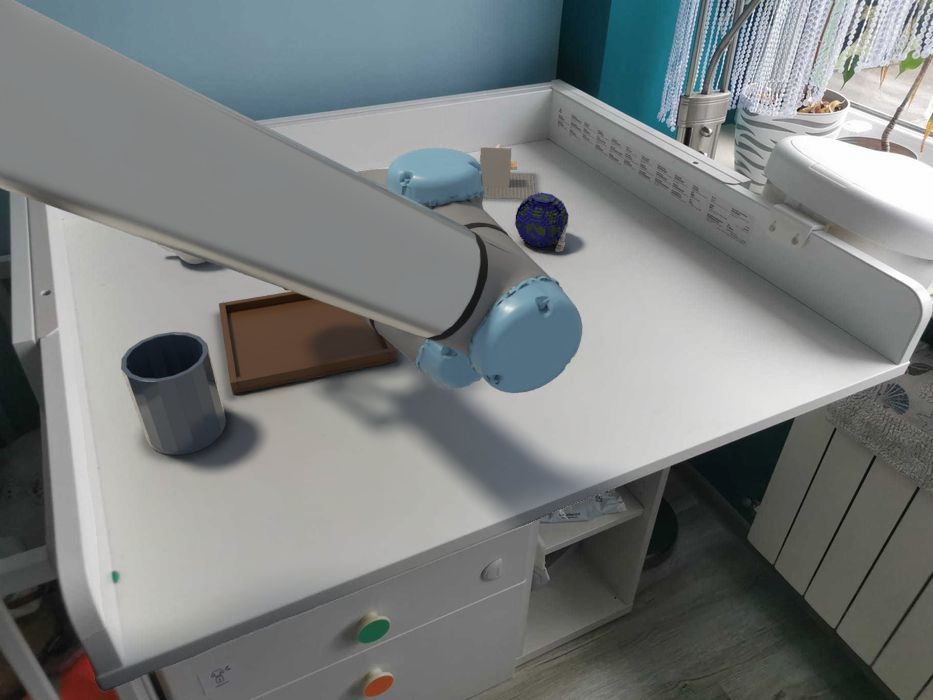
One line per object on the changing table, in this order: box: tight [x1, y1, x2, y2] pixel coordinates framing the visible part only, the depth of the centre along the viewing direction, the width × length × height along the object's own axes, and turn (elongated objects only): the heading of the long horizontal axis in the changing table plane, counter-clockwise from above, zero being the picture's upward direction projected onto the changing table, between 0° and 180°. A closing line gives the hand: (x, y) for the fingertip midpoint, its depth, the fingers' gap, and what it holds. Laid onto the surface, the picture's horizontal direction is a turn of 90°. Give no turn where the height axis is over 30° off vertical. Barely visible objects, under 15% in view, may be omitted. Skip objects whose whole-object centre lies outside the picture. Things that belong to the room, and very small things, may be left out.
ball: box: [514, 192, 570, 253], centre depth 110 cm, size 8×8×8 cm
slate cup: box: [120, 331, 227, 456], centre depth 73 cm, size 8×8×10 cm
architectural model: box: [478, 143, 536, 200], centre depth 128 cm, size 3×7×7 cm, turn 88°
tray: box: [218, 291, 397, 395], centre depth 90 cm, size 20×18×2 cm
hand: (267, 203), depth 82 cm, fingers closed on terracotta cup, 8 cm apart
